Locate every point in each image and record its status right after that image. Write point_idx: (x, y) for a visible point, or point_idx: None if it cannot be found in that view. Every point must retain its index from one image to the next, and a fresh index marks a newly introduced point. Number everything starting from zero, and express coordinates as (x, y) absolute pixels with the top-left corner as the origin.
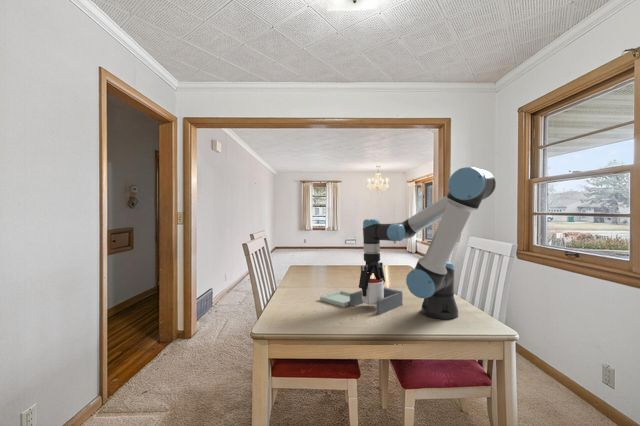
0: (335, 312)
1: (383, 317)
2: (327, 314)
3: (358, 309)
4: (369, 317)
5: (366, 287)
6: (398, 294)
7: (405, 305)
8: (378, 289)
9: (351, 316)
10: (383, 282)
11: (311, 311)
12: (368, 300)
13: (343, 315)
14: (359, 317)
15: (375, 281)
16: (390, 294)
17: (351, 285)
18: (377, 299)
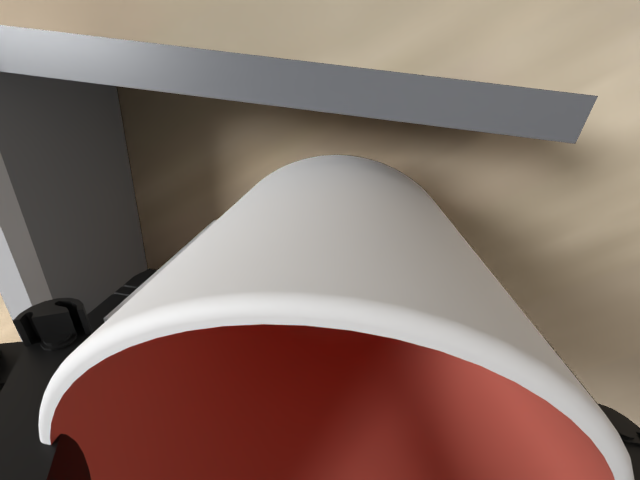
0: None
1: (551, 20)
2: (626, 397)
3: None
4: (600, 143)
5: (626, 440)
6: (38, 31)
7: (71, 14)
8: (447, 240)
9: (621, 271)
10: (27, 334)
11: None
12: None
13: (615, 321)
14: (627, 213)
15: (136, 448)
16: (66, 195)
17: None
18: (423, 191)
